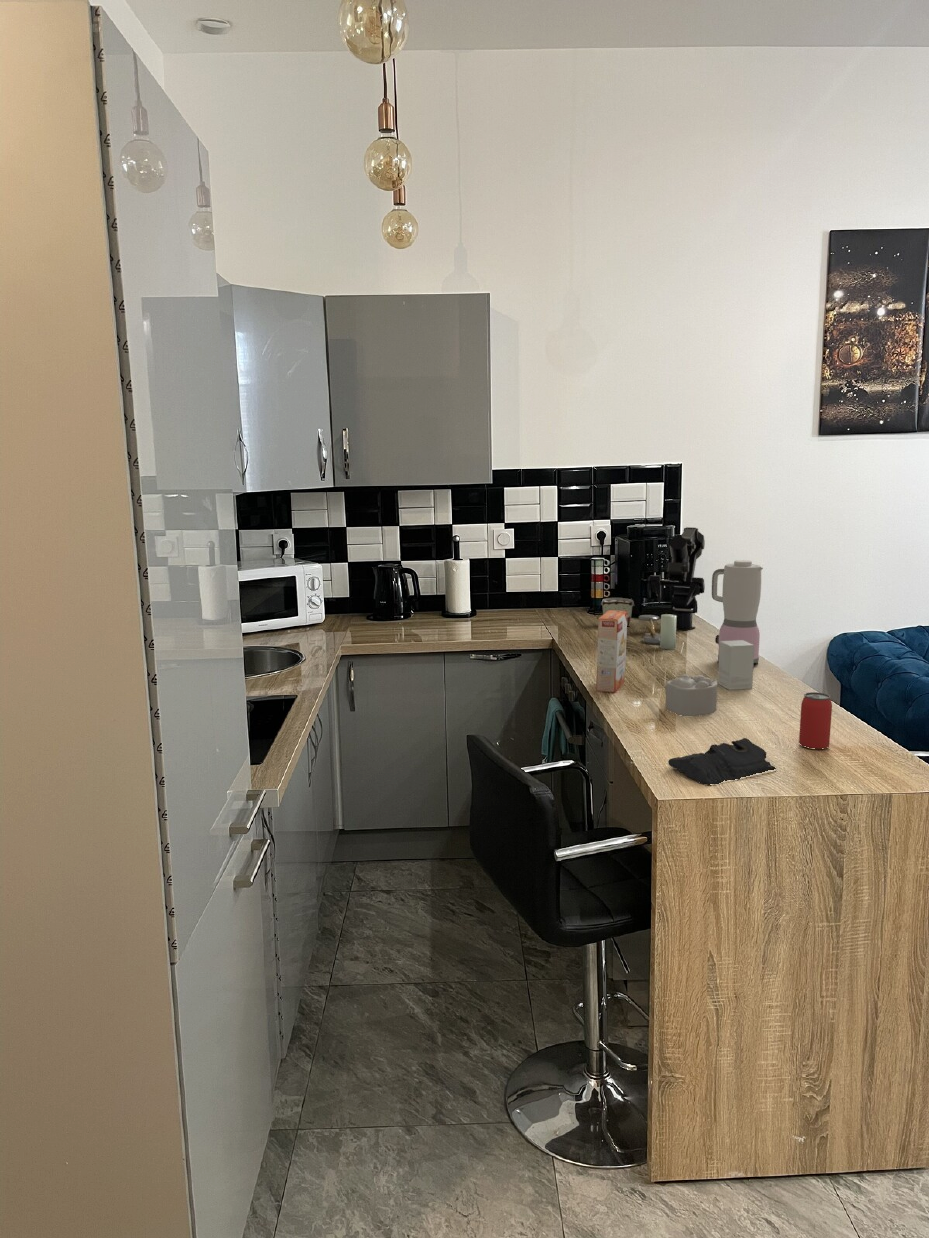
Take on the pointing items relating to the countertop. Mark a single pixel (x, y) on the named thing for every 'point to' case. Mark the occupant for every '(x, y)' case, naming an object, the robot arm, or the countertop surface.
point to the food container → (618, 606)
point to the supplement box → (736, 664)
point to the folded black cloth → (723, 762)
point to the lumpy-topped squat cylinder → (691, 695)
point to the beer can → (815, 720)
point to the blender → (739, 603)
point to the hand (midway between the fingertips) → (672, 604)
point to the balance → (651, 637)
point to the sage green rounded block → (668, 631)
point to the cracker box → (611, 651)
